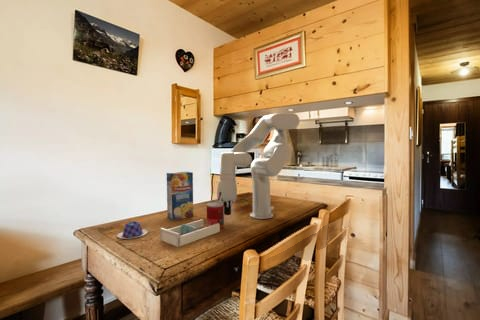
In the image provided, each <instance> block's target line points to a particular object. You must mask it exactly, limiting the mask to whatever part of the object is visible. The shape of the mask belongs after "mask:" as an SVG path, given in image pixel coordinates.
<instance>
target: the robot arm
mask: <svg viewBox="0 0 480 320" xmlns="http://www.w3.org/2000/svg"><path fill="white" fill-rule="evenodd" d="M299 125H300V117H299V115H298V114H296V113H293V112H291V113H289V112H287V113H284V112H283V113H279V112H278V113H272V114H266V115H263V116H262V117H260V119H259V120H258V122H256V124H255V125H254V127H253V128H252V129H251V131H250V132H249V133H248V134H247V135H246V136H245V137H243V138H242V139H241V140H240V141H239V142H237V144H236V145H234V147H233V148H232V150H230V151H229V152H227V151H226V152H225V151H224V152H221V153H220V154H219V155H220V156H219V173H220V174H219V180H218V184H217V192H216V199H217V201H218V202H219V203H223V205H224V216H231V215H232V206H233V203H234V202H236V201H237V197H238V189H237V188H238V187H237V180H236V167H239V168H247V167H248V166H250V173H251V178H252V211H251V212H250V213H249V216H250V218H253V219H257V220H266V219H272V218H273V217H274V213H272V211H273V210H274V209H275V206H274V205H273V206H271V181H270V177H272V178H274V177H276V176H277V175H279V174H280V172H281V171H282V170H283V168H284V167H285V165H286V164H287V163H288V161H289V159H290V157H291V147H290V146H289V144H288V135H287V130H294V129H296V128H297V127H298V126H299ZM272 131H273V135H272V137H271V139H270V140H269V141H268V143H267V144H266V145H265V147H264V149H263V152H262V156H263V157H257V158H255V159H253V158H252V156H251V154H250V153H249V151H251V150H252V149H255V148H257V147H259V146H261V145H262V144H263V143H264V142H265V140H266V138H267V137H268V136H269V135H270V133H271V132H272Z"/></svg>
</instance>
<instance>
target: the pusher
mask: <svg viewBox="0 0 480 320" xmlns="http://www.w3.org/2000/svg"><path fill="white" fill-rule="evenodd" d="M196 230H197V229H196V227H193V226H190V225H187V223H181V235H184V234H187V233H190V232H193V231H196Z"/></svg>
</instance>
